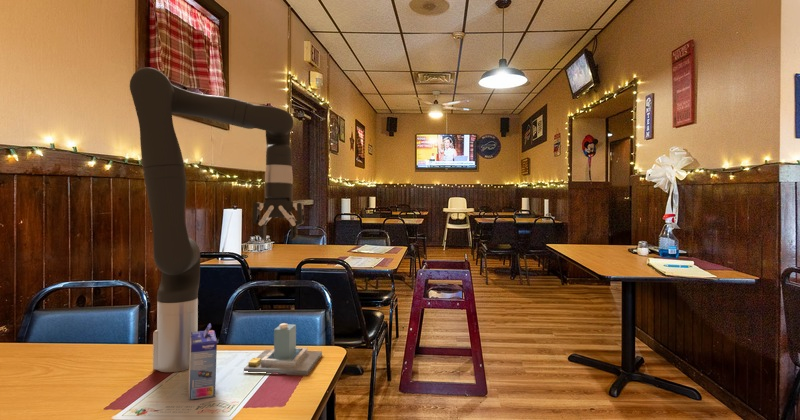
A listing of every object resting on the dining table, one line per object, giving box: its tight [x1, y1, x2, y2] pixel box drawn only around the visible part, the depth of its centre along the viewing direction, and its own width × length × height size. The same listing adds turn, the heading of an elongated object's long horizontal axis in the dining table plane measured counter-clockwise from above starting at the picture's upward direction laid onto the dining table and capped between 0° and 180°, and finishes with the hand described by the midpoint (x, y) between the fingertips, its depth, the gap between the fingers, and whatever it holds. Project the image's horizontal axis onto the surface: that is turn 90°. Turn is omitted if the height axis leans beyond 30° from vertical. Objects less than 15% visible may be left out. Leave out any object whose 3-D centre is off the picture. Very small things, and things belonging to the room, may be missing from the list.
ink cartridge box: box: [187, 322, 218, 401], centre depth 93 cm, size 10×6×14 cm, turn 27°
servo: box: [273, 322, 297, 359], centre depth 109 cm, size 4×5×10 cm
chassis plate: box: [243, 346, 323, 377], centre depth 109 cm, size 16×14×3 cm
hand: (278, 239), depth 118 cm, fingers open, 8 cm apart
